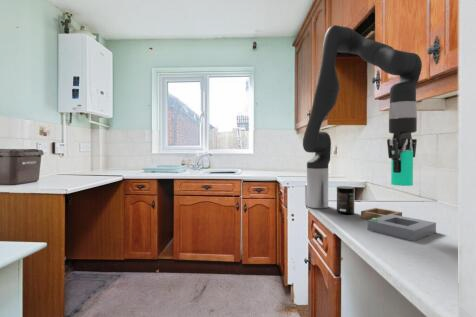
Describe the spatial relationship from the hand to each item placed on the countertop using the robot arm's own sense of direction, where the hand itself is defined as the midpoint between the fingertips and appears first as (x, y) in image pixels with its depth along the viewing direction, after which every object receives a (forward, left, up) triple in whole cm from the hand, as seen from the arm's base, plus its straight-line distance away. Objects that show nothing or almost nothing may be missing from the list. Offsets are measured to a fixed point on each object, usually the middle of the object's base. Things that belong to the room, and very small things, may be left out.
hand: (402, 171), depth 90 cm
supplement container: (-25, +7, -19) cm, 32 cm away
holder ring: (-12, +10, -19) cm, 24 cm away
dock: (0, 0, -19) cm, 19 cm away
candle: (0, 0, -4) cm, 4 cm away
